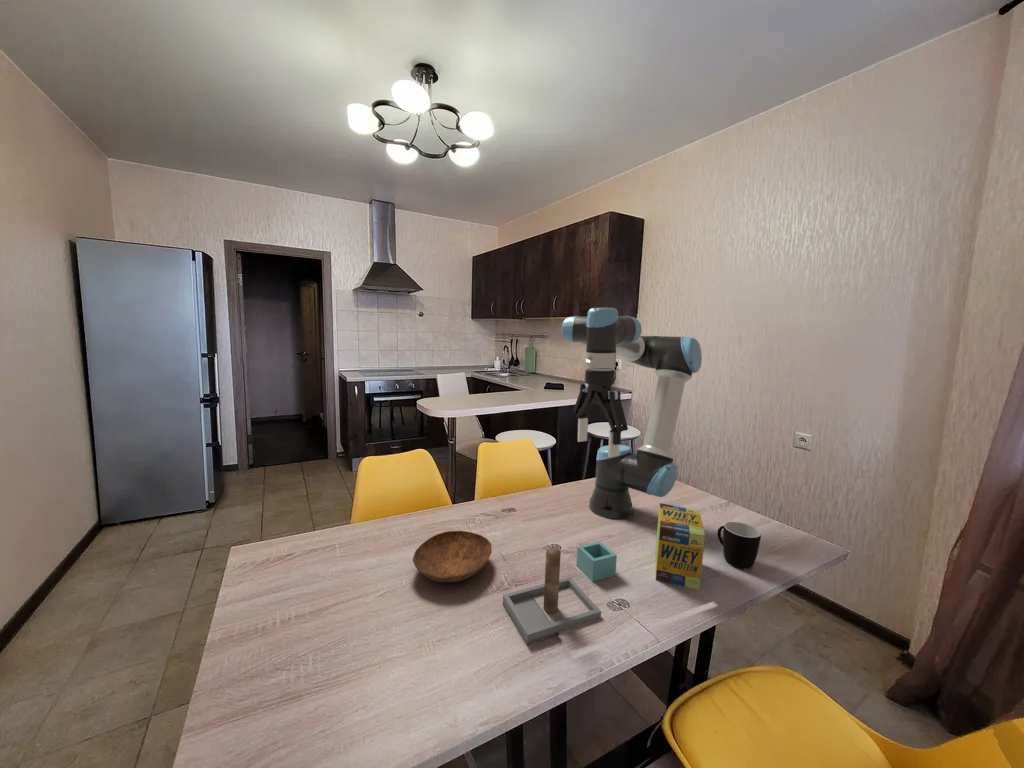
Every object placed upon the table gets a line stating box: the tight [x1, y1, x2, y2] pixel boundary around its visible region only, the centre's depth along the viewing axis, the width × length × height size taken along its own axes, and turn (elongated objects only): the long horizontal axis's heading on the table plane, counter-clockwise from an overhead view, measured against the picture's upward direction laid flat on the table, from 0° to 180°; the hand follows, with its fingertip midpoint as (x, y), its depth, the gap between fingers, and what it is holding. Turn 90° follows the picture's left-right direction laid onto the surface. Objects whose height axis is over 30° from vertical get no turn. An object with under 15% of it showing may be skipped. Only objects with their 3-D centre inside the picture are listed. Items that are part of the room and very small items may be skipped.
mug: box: [716, 520, 762, 570], centre depth 111 cm, size 12×9×10 cm
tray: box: [502, 576, 602, 646], centre depth 89 cm, size 13×18×2 cm
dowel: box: [543, 547, 561, 615], centre depth 88 cm, size 3×3×14 cm
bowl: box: [412, 530, 493, 583], centre depth 104 cm, size 20×22×5 cm
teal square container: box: [575, 540, 618, 583], centre depth 103 cm, size 7×7×7 cm
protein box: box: [654, 502, 706, 591], centre depth 105 cm, size 10×15×16 cm
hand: (596, 448), depth 105 cm, fingers open, 13 cm apart
